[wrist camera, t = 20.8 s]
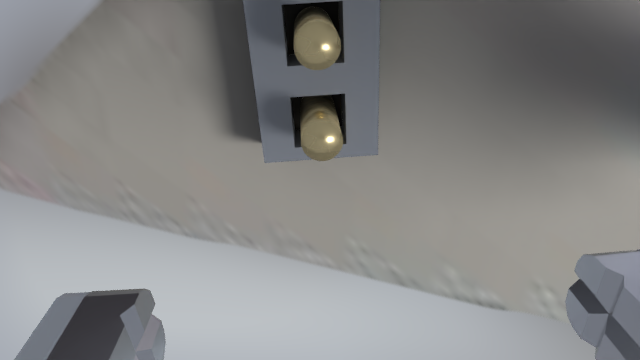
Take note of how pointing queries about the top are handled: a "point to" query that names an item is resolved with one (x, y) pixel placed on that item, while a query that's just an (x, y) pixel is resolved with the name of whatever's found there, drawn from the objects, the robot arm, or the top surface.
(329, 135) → the pin
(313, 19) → the pin
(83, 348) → the robot arm
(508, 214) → the top surface
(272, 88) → the block
